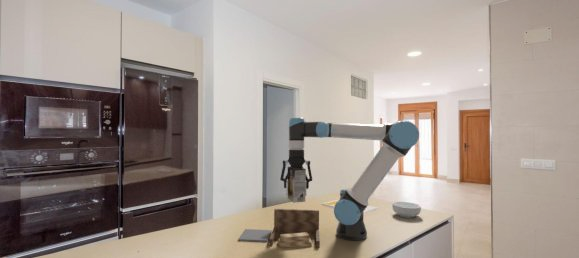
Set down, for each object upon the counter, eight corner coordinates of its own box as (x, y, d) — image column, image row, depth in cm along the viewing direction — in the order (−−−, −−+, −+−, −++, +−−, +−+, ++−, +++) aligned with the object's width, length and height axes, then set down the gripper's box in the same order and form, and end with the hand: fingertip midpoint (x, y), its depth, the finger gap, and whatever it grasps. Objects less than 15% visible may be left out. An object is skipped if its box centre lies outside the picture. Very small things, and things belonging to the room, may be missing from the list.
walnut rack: (318, 233, 147) (319, 210, 148) (319, 247, 130) (319, 221, 130) (274, 231, 149) (274, 208, 149) (269, 245, 131) (269, 219, 131)
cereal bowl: (424, 220, 171) (424, 208, 171) (395, 219, 173) (395, 207, 173) (416, 212, 187) (416, 201, 187) (389, 211, 190) (390, 200, 190)
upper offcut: (306, 237, 137) (306, 232, 137) (309, 240, 133) (309, 235, 133) (280, 239, 133) (280, 234, 133) (282, 243, 130) (282, 237, 130)
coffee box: (286, 198, 145) (287, 166, 145) (298, 197, 147) (299, 166, 147) (293, 202, 136) (293, 168, 136) (305, 201, 138) (306, 168, 138)
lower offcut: (310, 243, 136) (310, 238, 136) (311, 247, 131) (311, 242, 131) (278, 243, 135) (278, 238, 135) (278, 247, 131) (278, 242, 131)
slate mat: (271, 231, 149) (271, 230, 149) (267, 242, 136) (267, 240, 136) (245, 230, 151) (245, 229, 151) (238, 240, 137) (238, 239, 137)
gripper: (317, 148, 145) (317, 193, 144) (276, 148, 146) (275, 192, 146) (318, 149, 137) (317, 197, 137) (274, 149, 139) (273, 196, 139)
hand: (296, 195), depth 142 cm, fingers closed on coffee box, 8 cm apart
